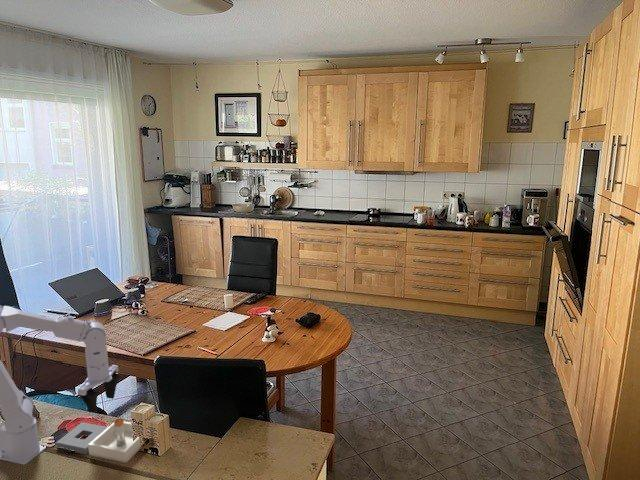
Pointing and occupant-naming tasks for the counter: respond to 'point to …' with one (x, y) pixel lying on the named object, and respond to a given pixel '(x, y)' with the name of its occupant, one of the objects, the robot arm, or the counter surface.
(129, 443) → the tray
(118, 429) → the lock pin
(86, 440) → the lock plate
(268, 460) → the counter surface
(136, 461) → the counter surface
